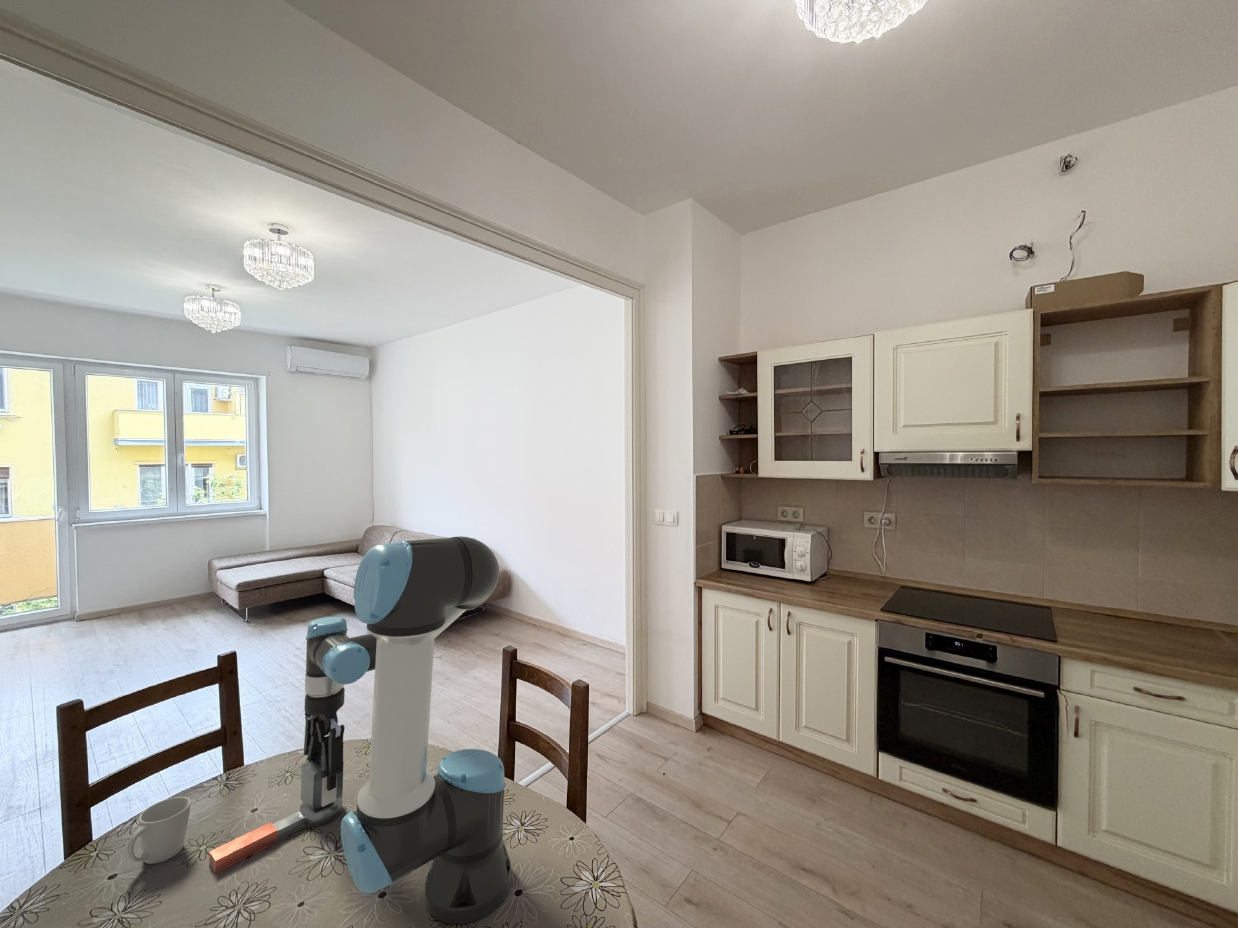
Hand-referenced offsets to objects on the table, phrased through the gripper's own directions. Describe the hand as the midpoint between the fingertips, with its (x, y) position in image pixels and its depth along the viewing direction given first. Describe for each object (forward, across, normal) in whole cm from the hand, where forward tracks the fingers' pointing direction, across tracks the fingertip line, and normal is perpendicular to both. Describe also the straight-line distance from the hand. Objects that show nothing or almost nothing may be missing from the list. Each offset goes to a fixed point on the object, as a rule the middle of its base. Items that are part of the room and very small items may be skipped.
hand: (321, 795), depth 108 cm
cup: (+4, +11, +24) cm, 27 cm away
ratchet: (+4, 0, +8) cm, 8 cm away
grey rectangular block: (0, 0, 0) cm, 0 cm away
